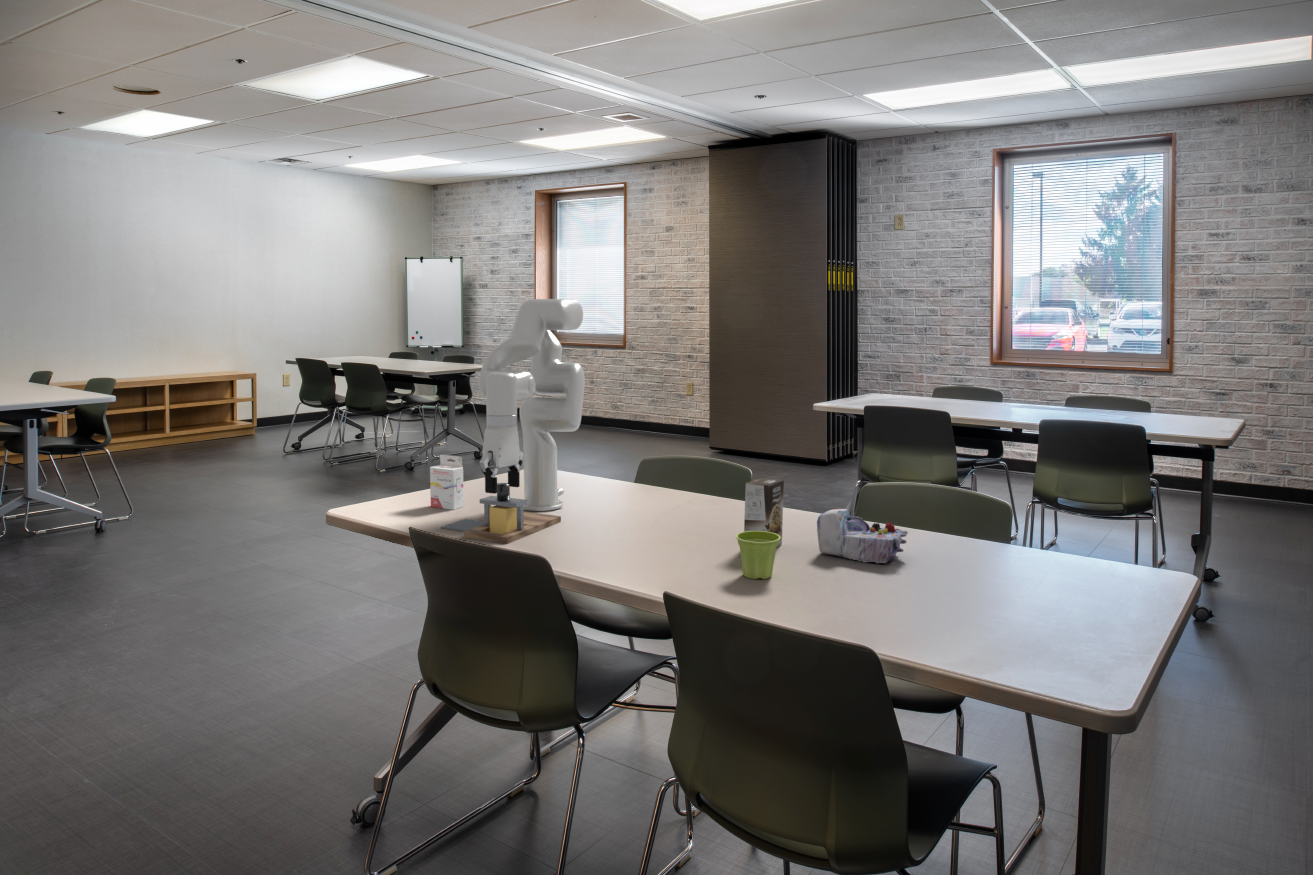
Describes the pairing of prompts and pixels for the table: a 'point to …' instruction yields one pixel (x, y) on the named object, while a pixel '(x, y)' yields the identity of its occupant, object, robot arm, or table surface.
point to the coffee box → (764, 506)
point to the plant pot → (757, 553)
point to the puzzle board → (531, 525)
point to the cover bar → (504, 503)
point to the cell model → (857, 537)
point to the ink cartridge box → (447, 483)
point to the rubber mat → (463, 525)
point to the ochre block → (503, 519)
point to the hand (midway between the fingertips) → (502, 489)
